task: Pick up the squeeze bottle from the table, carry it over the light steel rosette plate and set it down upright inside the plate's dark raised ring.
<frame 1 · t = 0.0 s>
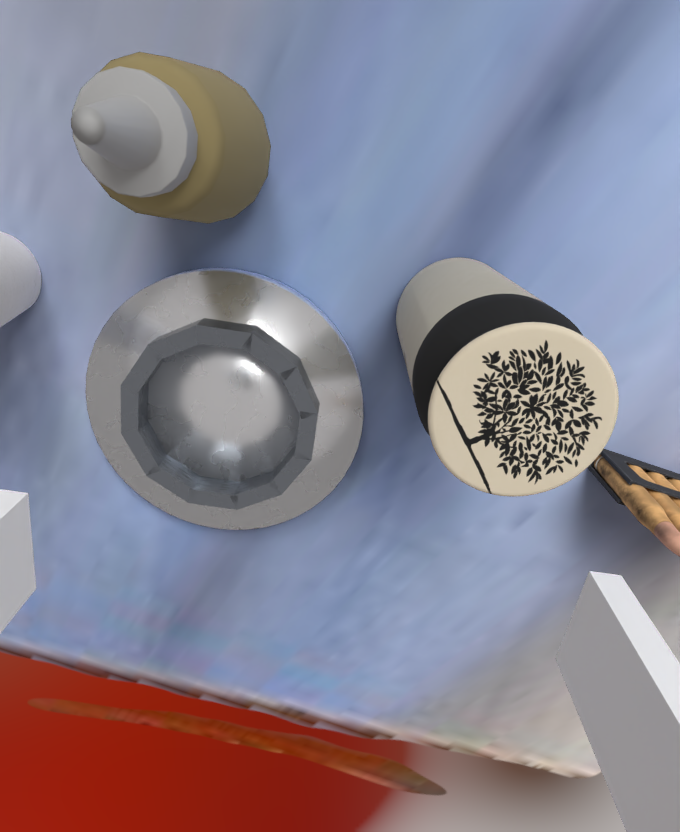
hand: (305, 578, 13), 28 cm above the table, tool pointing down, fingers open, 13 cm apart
rosette plate: (228, 405, 42), on the table
dixie cup: (2, 272, 39), on the table
squeeze bottle: (215, 151, 36), on the table
ammunition clip: (654, 477, 43), on the table
travel mug: (453, 315, 39), on the table
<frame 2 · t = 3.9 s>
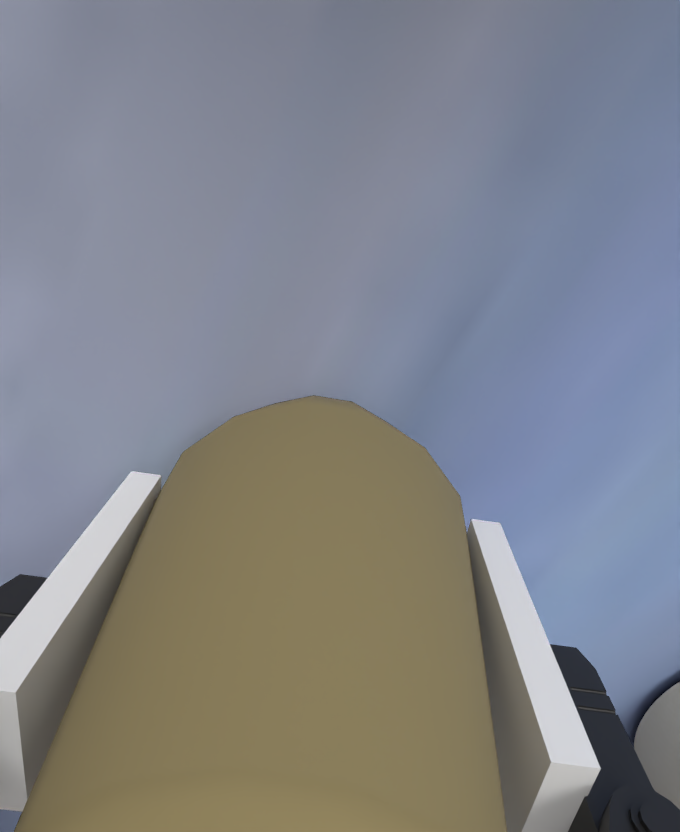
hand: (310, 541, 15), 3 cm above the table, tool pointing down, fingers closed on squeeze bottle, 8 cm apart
squeeze bottle: (319, 477, 18), on the table, touching gripper
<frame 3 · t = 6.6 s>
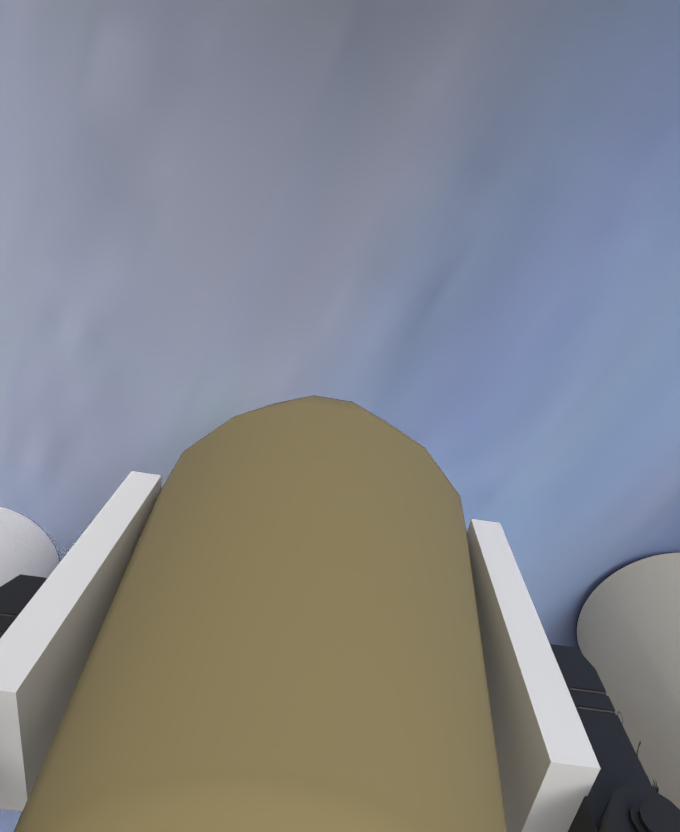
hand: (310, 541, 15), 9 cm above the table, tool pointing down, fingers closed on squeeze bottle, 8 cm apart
dixie cup: (2, 554, 27), on the table
squeeze bottle: (319, 477, 18), point 6 cm above the table, touching gripper
travel mug: (657, 614, 27), on the table
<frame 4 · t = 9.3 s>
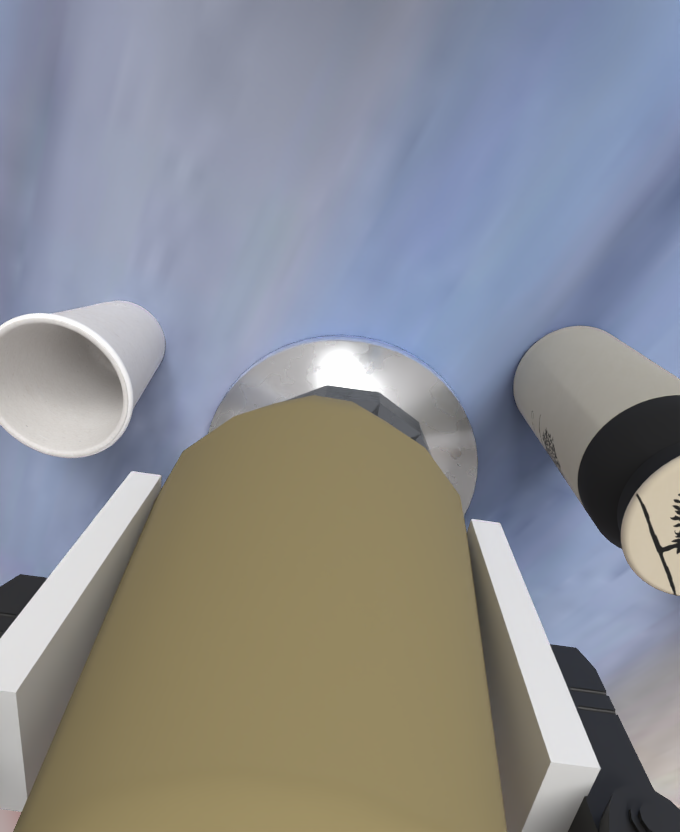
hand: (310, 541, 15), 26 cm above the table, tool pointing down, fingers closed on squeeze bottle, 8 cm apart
rosette plate: (340, 463, 43), on the table
dixie cup: (126, 339, 40), on the table
squeeze bottle: (319, 477, 18), point 22 cm above the table, touching gripper
travel mug: (568, 379, 40), on the table
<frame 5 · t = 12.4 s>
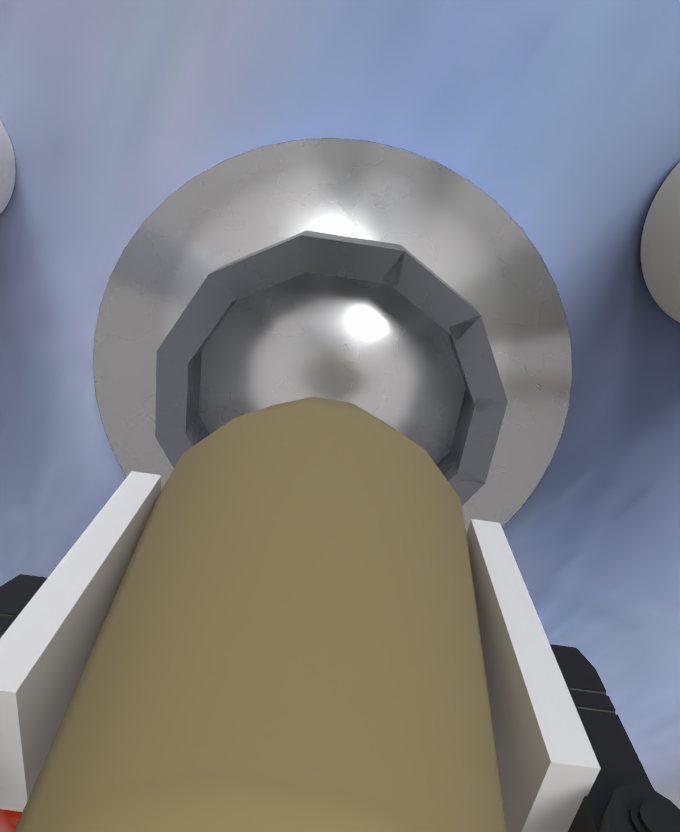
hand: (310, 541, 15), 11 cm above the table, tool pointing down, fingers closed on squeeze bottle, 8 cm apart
rosette plate: (331, 389, 25), on the table
squeeze bottle: (319, 478, 18), point 8 cm above the table, touching gripper
when the fingers open (6 cm above the table, at t = 14.9 s): squeeze bottle stays where it is, resting on rosette plate.
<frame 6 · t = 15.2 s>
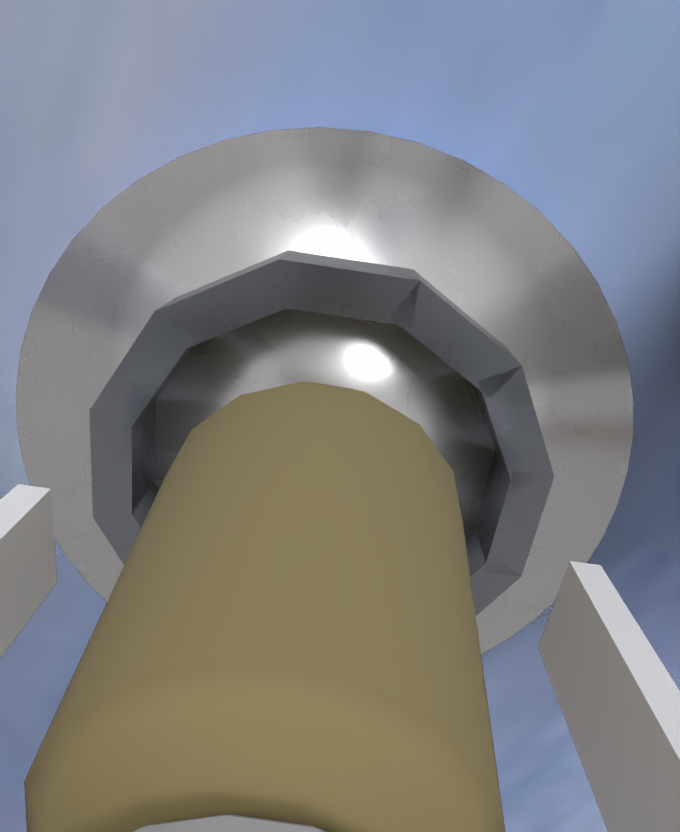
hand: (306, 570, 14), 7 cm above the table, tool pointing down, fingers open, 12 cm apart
rosette plate: (323, 446, 20), on the table
squeeze bottle: (320, 463, 19), point 1 cm above the table, touching rosette plate
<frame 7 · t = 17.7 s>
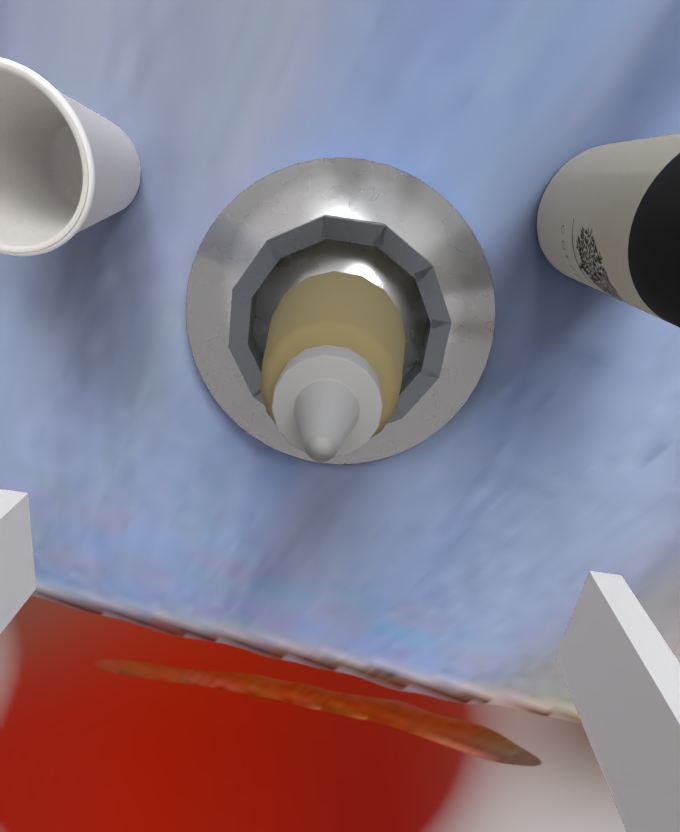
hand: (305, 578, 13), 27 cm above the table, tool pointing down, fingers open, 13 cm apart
rosette plate: (340, 321, 38), on the table
dixie cup: (96, 167, 35), on the table
squeeze bottle: (339, 325, 37), point 1 cm above the table, touching rosette plate
travel mug: (599, 215, 35), on the table
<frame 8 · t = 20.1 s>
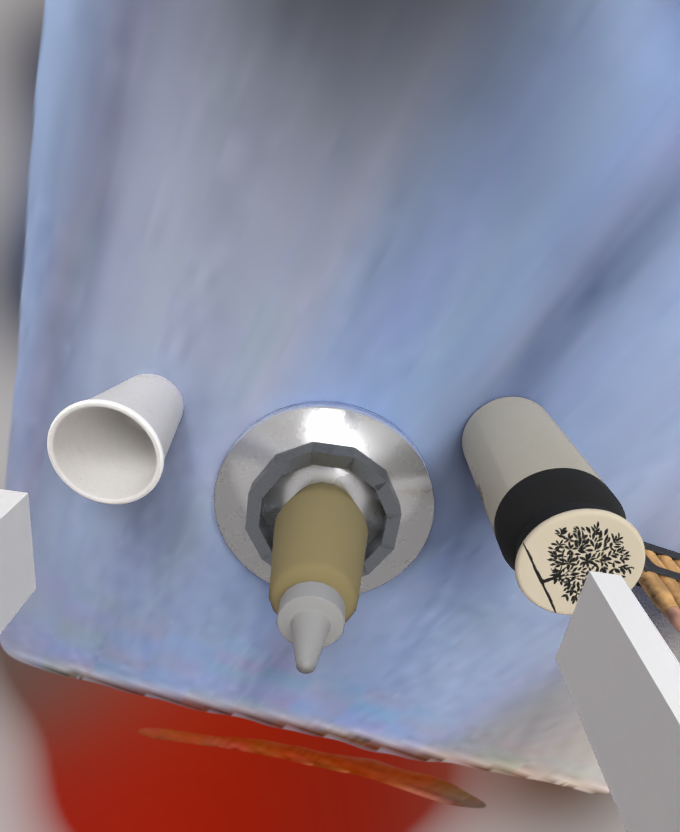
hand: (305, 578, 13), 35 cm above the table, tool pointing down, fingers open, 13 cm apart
rosette plate: (324, 501, 53), on the table
dixie cup: (152, 403, 50), on the table
squeeze bottle: (323, 508, 51), point 1 cm above the table, touching rosette plate
ammunition clip: (663, 556, 54), on the table
travel mug: (506, 436, 50), on the table
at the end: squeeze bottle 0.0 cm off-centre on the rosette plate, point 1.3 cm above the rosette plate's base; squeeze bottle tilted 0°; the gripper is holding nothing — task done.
